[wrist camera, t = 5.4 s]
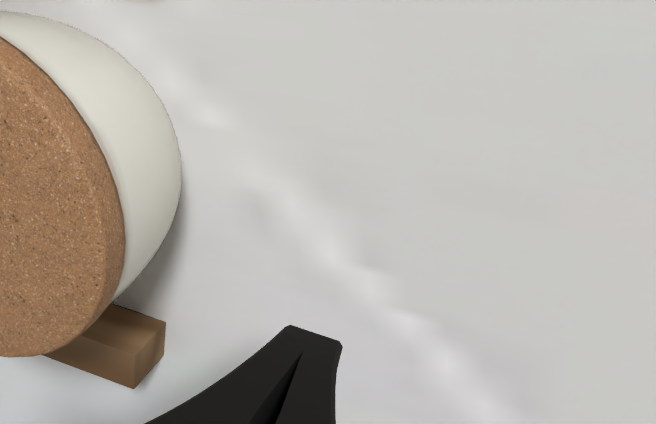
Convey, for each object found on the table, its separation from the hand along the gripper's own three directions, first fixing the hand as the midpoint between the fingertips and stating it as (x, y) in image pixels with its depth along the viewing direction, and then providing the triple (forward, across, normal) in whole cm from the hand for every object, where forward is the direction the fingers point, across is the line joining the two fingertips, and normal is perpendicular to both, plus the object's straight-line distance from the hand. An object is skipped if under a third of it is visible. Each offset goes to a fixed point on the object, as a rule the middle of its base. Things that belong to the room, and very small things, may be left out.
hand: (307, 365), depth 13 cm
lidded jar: (+9, +12, 0) cm, 15 cm away
